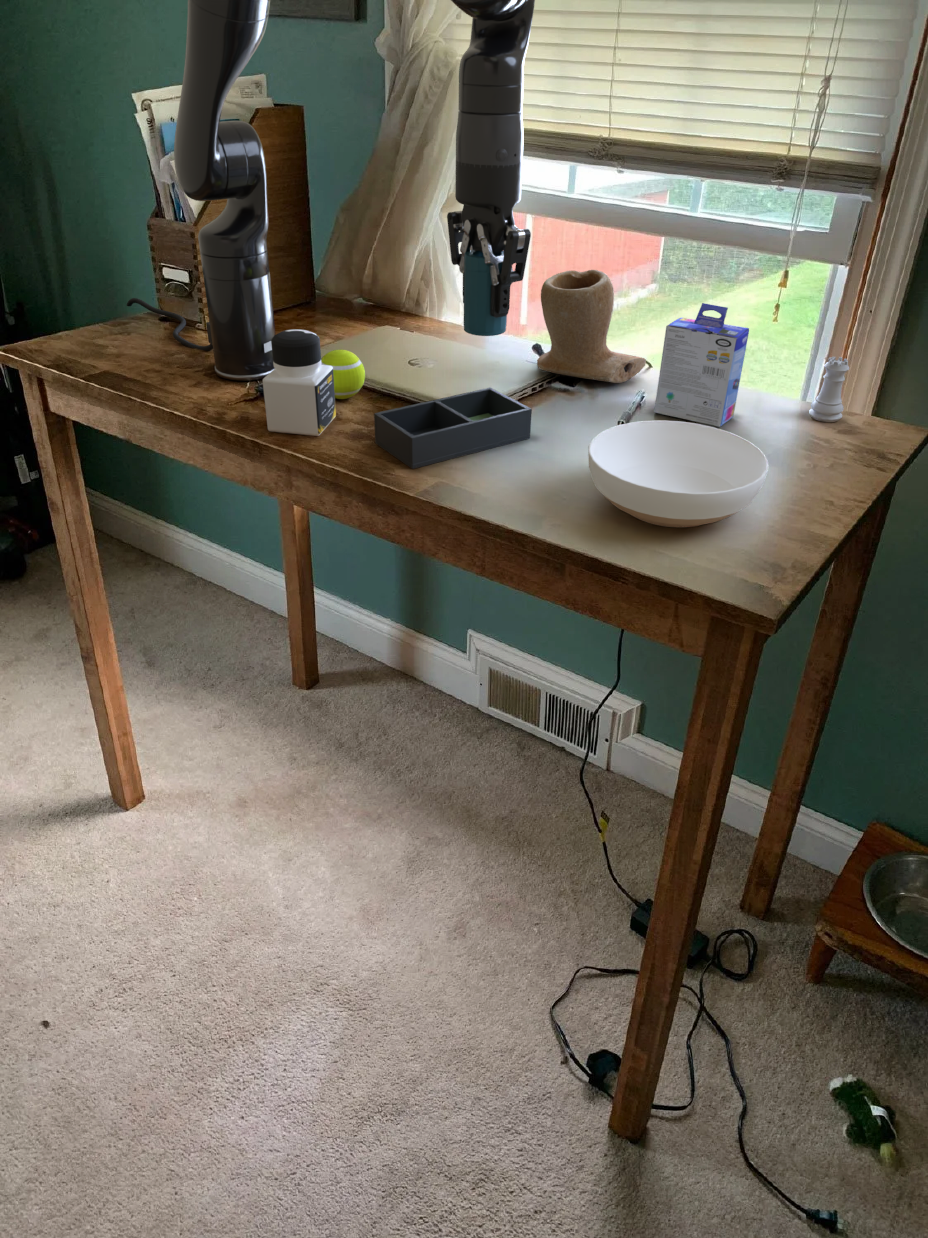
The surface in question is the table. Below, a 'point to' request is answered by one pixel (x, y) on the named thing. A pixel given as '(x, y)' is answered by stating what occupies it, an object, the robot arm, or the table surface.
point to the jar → (480, 297)
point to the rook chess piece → (830, 392)
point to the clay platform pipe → (583, 328)
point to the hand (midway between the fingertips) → (485, 309)
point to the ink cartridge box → (701, 368)
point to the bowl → (676, 471)
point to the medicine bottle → (298, 385)
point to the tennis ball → (345, 372)
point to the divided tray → (452, 427)
